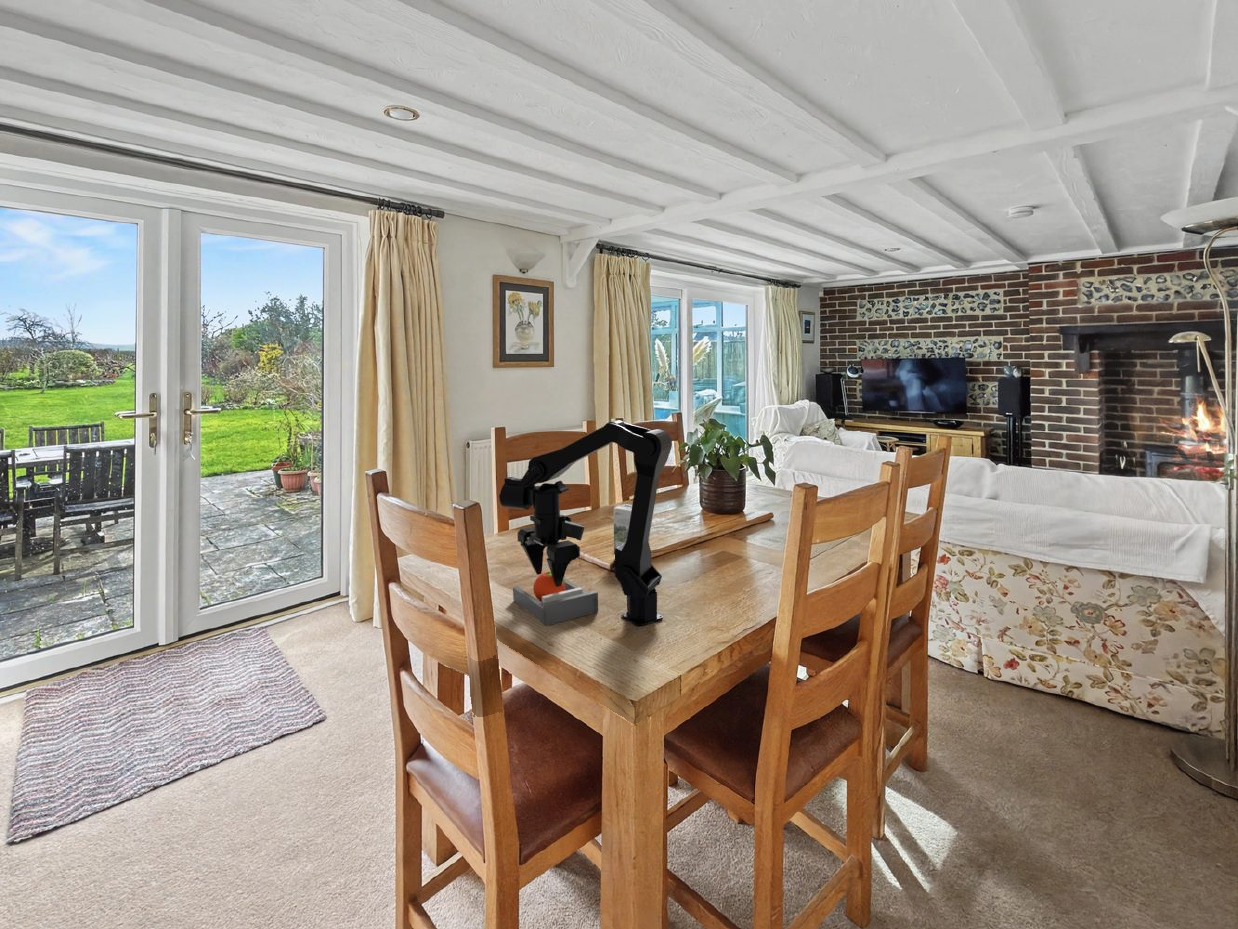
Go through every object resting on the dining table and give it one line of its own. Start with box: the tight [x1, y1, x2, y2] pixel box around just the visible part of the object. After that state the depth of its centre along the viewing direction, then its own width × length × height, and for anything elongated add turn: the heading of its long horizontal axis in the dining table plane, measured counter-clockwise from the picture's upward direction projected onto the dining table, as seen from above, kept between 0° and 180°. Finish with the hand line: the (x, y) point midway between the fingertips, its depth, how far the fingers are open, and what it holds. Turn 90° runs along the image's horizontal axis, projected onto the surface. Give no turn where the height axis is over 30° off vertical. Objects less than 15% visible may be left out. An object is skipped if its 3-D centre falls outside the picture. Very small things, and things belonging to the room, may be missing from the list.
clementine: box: [532, 571, 567, 603], centre depth 138 cm, size 8×7×7 cm
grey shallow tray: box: [512, 577, 599, 627], centre depth 137 cm, size 16×12×4 cm
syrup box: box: [613, 503, 632, 555], centre depth 168 cm, size 6×6×14 cm
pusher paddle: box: [541, 586, 583, 603], centre depth 134 cm, size 1×9×4 cm, turn 124°
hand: (548, 580), depth 138 cm, fingers open, 9 cm apart
